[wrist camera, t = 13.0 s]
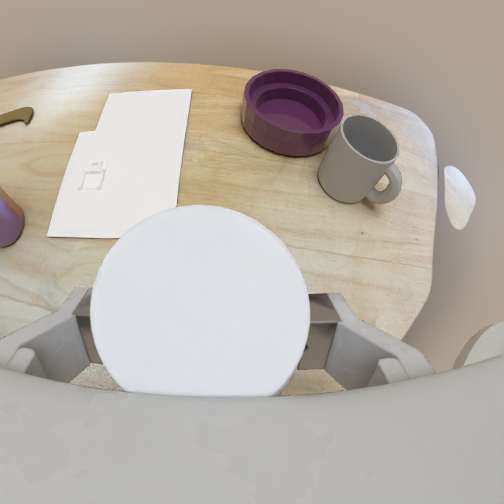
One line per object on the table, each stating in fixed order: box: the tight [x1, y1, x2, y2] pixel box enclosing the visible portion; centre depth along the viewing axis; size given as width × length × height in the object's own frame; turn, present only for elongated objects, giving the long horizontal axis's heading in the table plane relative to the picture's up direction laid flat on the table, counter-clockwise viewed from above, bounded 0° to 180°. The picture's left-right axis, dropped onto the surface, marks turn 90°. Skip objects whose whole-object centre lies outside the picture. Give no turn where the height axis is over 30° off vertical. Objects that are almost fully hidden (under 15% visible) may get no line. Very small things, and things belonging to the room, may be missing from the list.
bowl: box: [241, 69, 344, 156], centre depth 38 cm, size 13×13×5 cm
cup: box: [318, 114, 402, 204], centre depth 34 cm, size 7×10×9 cm
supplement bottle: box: [90, 205, 310, 398], centre depth 10 cm, size 5×5×10 cm
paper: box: [47, 89, 192, 238], centre depth 35 cm, size 25×17×1 cm
